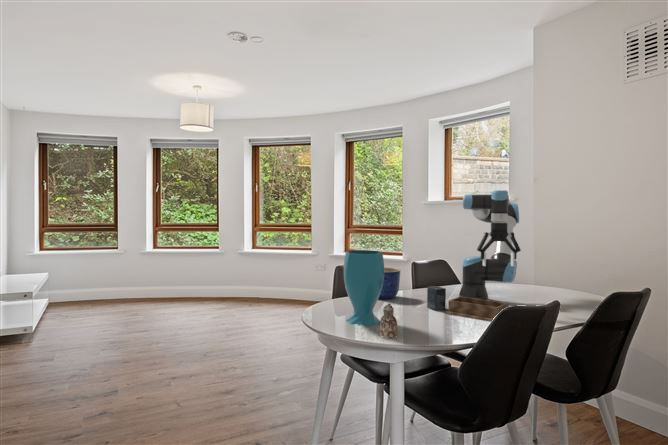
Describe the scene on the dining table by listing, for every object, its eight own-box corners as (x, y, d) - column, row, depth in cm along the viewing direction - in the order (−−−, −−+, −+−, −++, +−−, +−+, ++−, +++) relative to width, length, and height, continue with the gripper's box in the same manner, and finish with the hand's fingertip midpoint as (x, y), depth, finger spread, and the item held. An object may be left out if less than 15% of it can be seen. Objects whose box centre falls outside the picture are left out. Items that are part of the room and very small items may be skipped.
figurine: (376, 337, 171) (377, 305, 170) (381, 332, 178) (382, 302, 177) (395, 339, 168) (395, 307, 168) (399, 334, 175) (399, 303, 175)
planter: (405, 296, 247) (405, 268, 246) (391, 302, 233) (392, 272, 232) (377, 293, 256) (377, 266, 256) (363, 298, 242) (363, 270, 241)
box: (445, 310, 215) (446, 288, 215) (435, 311, 213) (435, 289, 213) (436, 306, 223) (436, 285, 222) (426, 307, 221) (427, 286, 220)
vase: (372, 328, 182) (372, 255, 181) (335, 322, 191) (336, 252, 190) (389, 319, 197) (390, 251, 196) (355, 314, 206) (356, 249, 205)
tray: (444, 313, 209) (445, 300, 208) (459, 307, 221) (459, 295, 221) (498, 322, 193) (498, 309, 192) (511, 316, 205) (511, 302, 205)
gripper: (475, 222, 213) (474, 266, 214) (528, 222, 212) (527, 267, 214) (471, 221, 221) (470, 264, 222) (522, 221, 220) (521, 264, 221)
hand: (498, 266), depth 218 cm, fingers open, 13 cm apart
